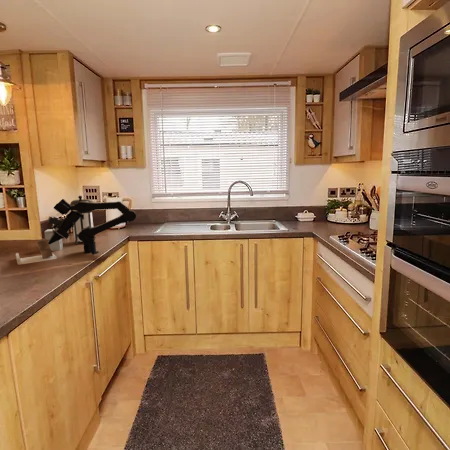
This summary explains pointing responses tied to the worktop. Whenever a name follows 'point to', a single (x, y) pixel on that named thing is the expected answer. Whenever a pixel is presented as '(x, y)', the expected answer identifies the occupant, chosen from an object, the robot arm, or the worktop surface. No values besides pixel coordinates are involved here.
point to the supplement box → (55, 245)
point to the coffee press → (81, 220)
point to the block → (44, 248)
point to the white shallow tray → (32, 259)
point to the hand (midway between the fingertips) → (48, 243)
